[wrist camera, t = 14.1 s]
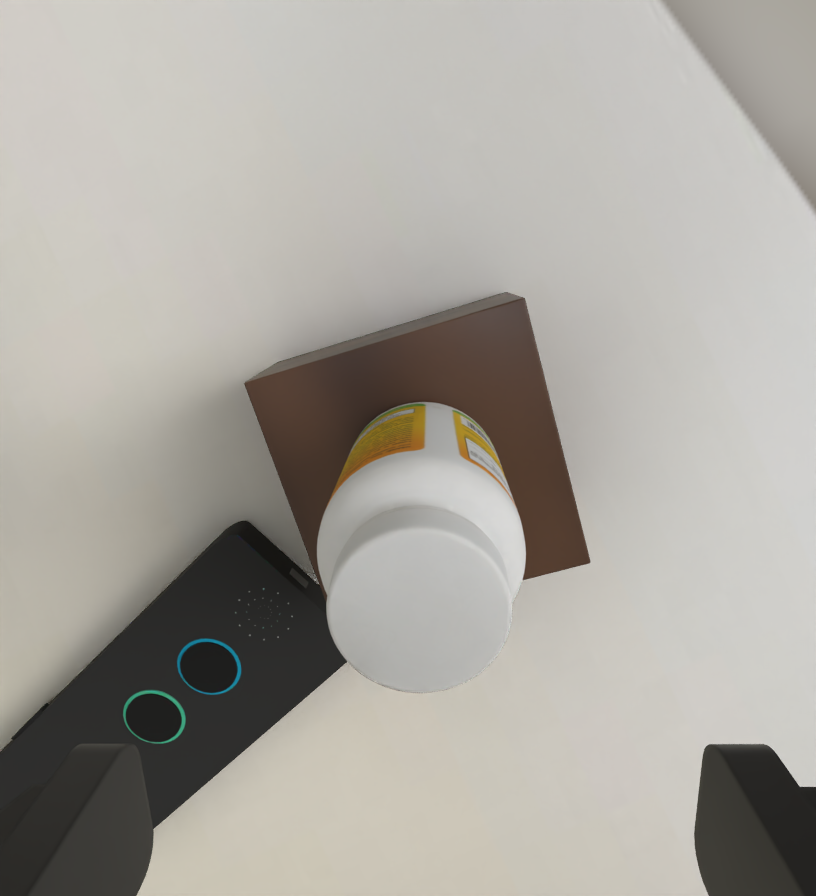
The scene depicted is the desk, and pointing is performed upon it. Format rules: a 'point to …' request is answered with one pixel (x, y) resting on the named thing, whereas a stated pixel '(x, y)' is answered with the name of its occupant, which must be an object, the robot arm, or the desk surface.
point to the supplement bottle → (421, 550)
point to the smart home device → (190, 674)
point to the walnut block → (426, 380)
